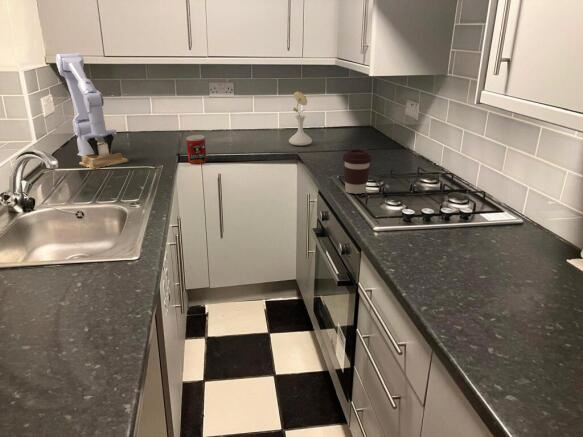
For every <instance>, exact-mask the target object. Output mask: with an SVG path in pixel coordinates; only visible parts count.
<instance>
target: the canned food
mask: <svg viewBox="0 0 583 437" xmlns="http://www.w3.org/2000/svg"><path fill="white" fill-rule="evenodd" d="M205 137H206V136H205V135H202V134H194V135H193V134H192V135H188V136H187V137H186V146H187V148H186V150H187V157H188V163H189V164H191V165H193V166H194V165H196V166H198V165H203V164H205V163H207V150H206V149H207V148H206V138H205Z"/></svg>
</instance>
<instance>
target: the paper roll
mask: <svg viewBox="0 0 583 437" xmlns="http://www.w3.org/2000/svg"><path fill="white" fill-rule="evenodd" d="M97 145H98V153H99V155H98V156H97V158H99V157H103V156H107V155H109V150H108V144H107V143H105V142H98V144H97Z"/></svg>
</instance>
